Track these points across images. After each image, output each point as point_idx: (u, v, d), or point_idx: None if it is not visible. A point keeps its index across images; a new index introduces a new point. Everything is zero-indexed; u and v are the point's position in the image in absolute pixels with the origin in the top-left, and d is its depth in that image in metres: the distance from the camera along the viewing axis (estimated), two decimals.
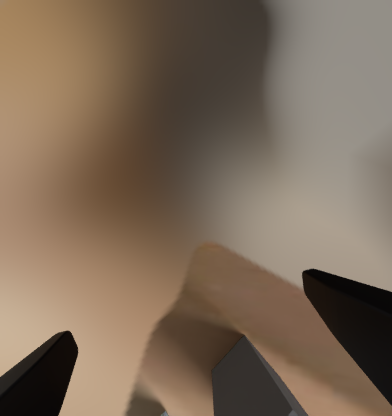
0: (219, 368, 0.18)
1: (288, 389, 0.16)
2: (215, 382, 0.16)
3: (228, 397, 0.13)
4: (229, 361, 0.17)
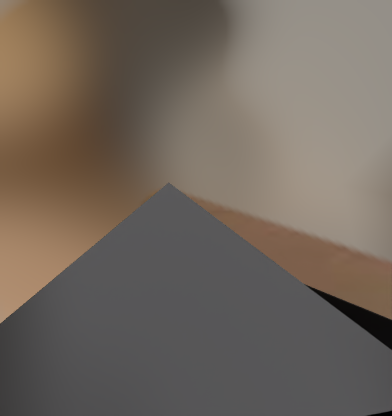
0: None
1: None
2: None
3: None
4: None
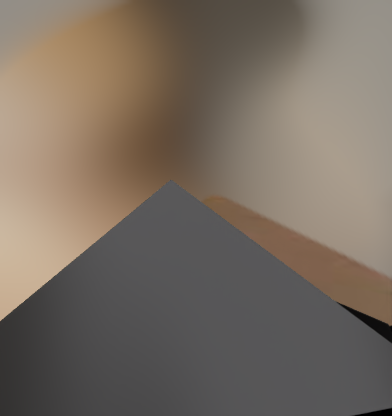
0: None
1: None
2: None
3: None
4: None
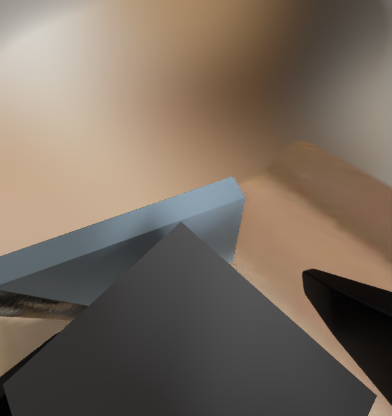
0: None
1: None
2: None
3: None
4: None
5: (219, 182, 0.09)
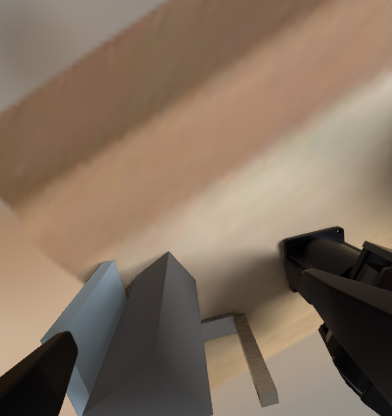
0: None
1: (162, 269, 0.18)
2: None
3: None
4: None
5: None
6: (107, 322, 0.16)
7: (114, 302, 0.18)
